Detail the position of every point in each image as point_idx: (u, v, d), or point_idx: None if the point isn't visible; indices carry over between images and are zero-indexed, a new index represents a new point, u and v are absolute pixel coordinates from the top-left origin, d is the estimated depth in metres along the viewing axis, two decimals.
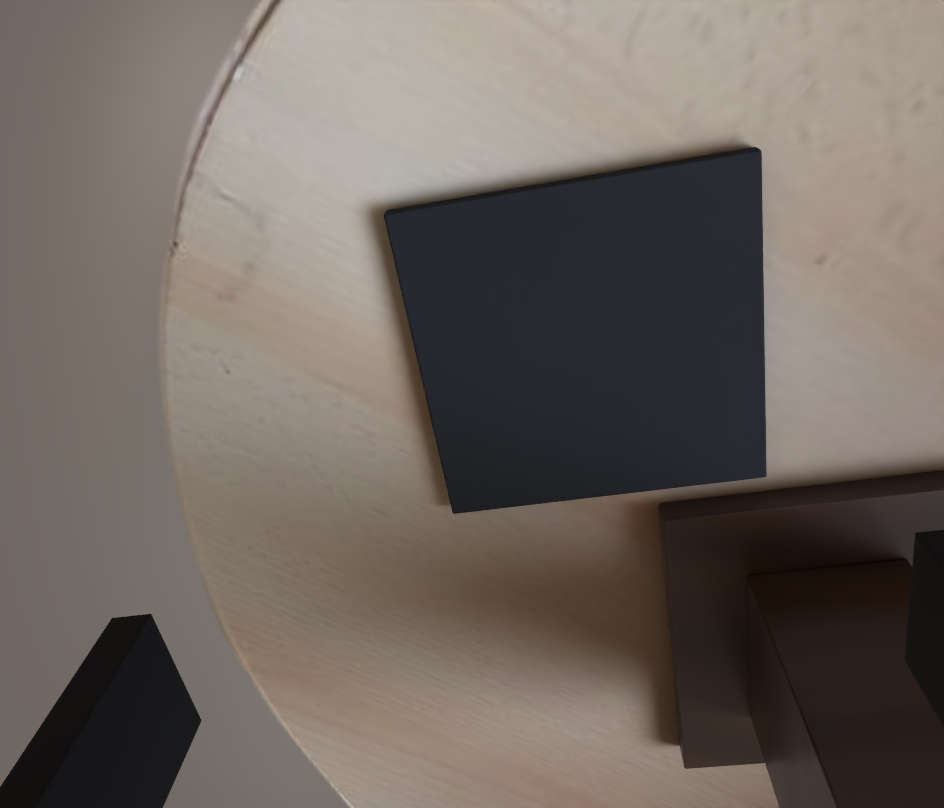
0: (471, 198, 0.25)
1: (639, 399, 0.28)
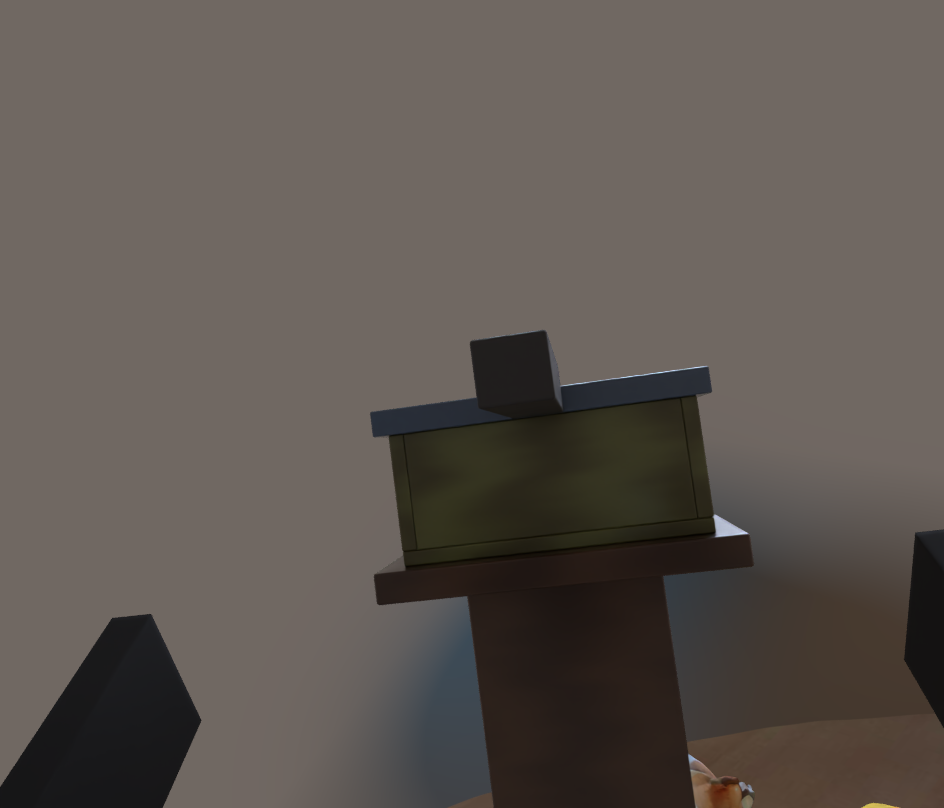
0: None
1: None
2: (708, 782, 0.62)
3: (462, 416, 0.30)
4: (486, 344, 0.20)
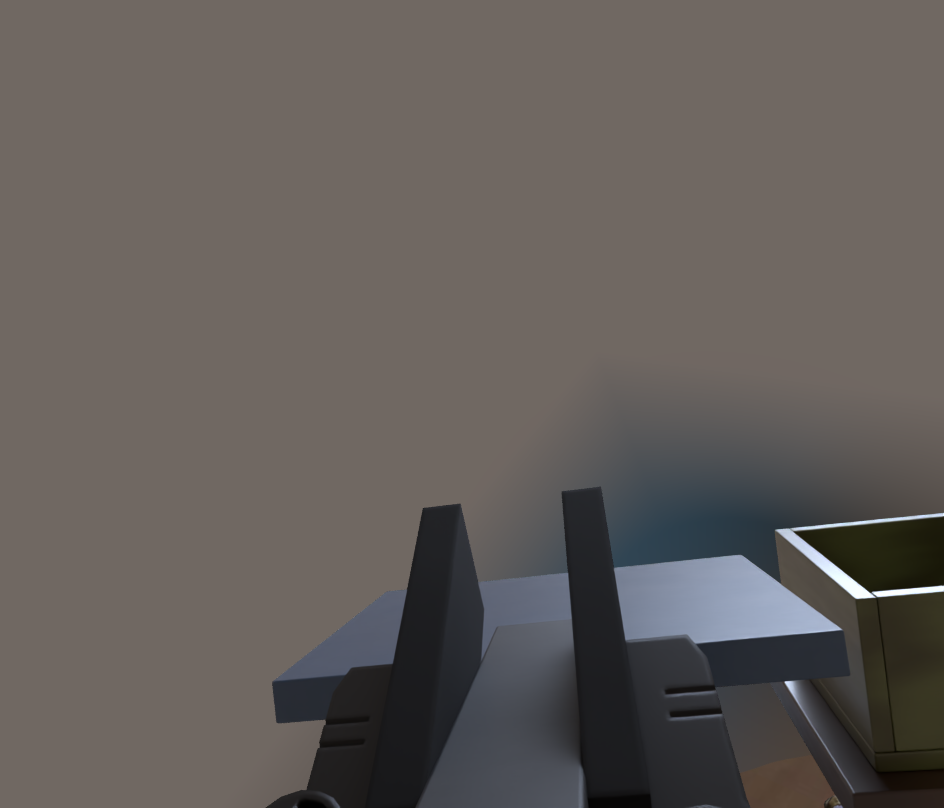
0: None
1: None
2: None
3: None
4: None
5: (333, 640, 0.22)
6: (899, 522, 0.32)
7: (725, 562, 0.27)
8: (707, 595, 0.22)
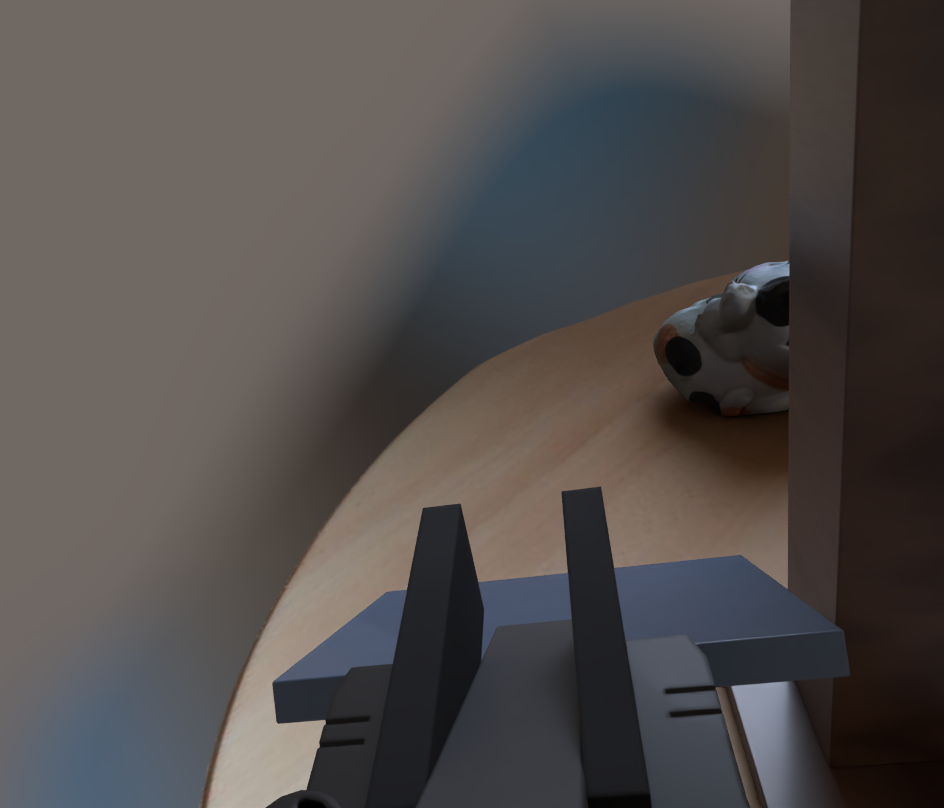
0: None
1: None
2: None
3: None
4: None
5: (333, 640, 0.22)
6: None
7: (725, 562, 0.27)
8: (707, 595, 0.22)
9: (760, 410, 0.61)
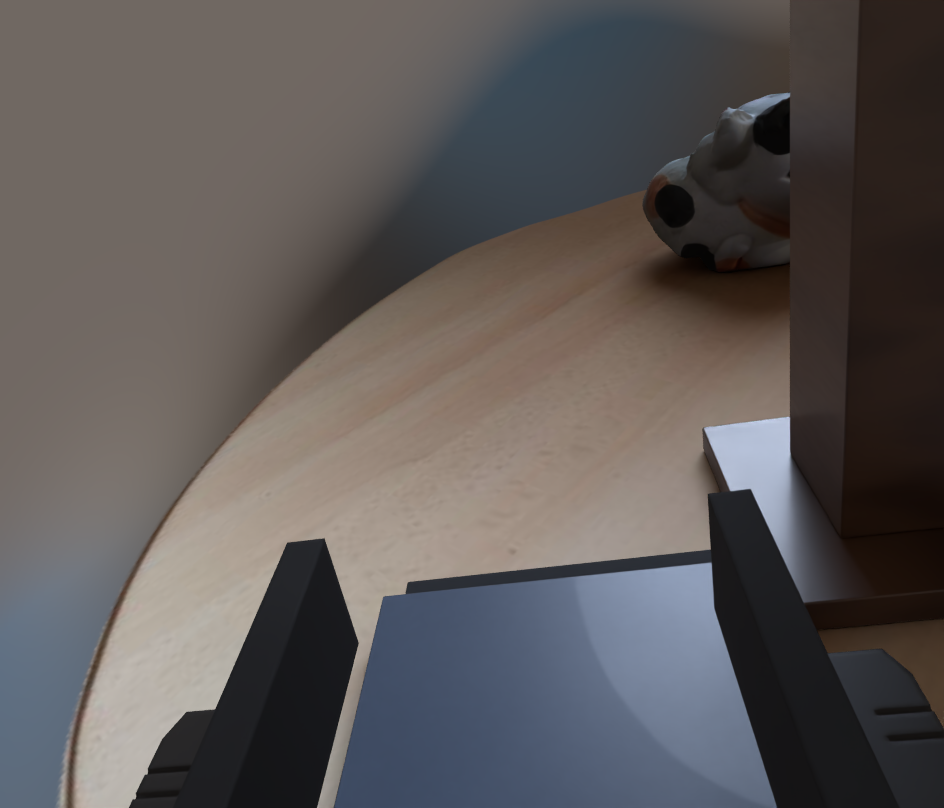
0: None
1: None
2: None
3: None
4: None
5: (353, 768, 0.22)
6: None
7: None
8: (724, 707, 0.22)
9: (759, 262, 0.56)
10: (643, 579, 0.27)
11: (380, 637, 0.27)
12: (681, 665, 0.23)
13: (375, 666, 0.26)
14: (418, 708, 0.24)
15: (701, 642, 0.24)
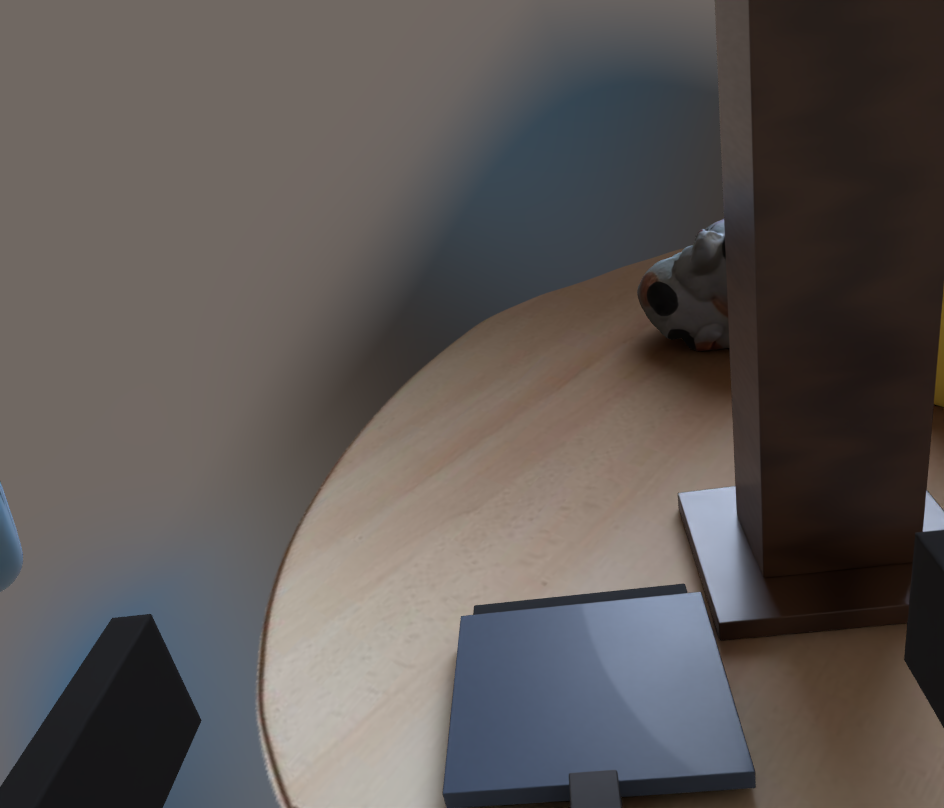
0: None
1: None
2: None
3: (528, 798, 0.33)
4: None
5: (456, 723, 0.37)
6: None
7: (690, 609, 0.41)
8: (680, 685, 0.36)
9: None
10: (633, 605, 0.42)
11: (462, 643, 0.41)
12: (656, 660, 0.38)
13: (461, 662, 0.40)
14: (492, 687, 0.38)
15: (669, 646, 0.39)
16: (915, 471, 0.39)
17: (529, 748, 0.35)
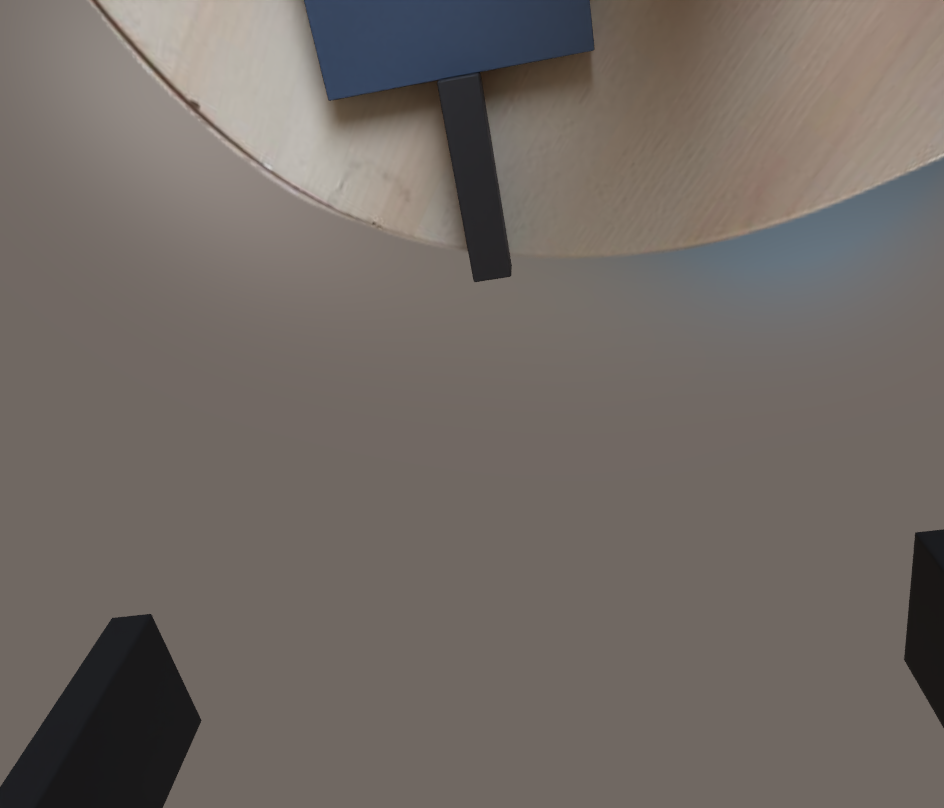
0: None
1: None
2: None
3: None
4: (482, 280, 0.42)
5: (315, 17, 0.37)
6: None
7: None
8: None
9: None
10: None
11: None
12: None
13: None
14: None
15: None
16: None
17: (394, 42, 0.37)
